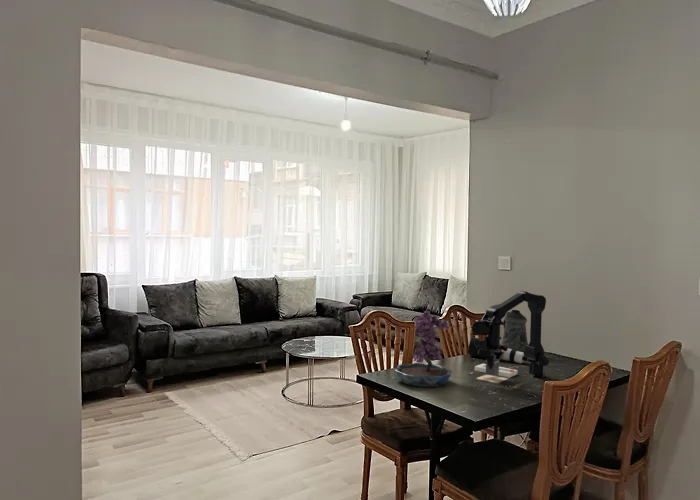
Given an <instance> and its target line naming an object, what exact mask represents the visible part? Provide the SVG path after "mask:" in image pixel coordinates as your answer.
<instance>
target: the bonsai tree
mask: <svg viewBox="0 0 700 500" xmlns="http://www.w3.org/2000/svg"><path fill="white" fill-rule="evenodd" d="M413 320H414V322H415V323H414V325H415V327H414V328H415V334H416V335H418V336H419V338H418V346H416V347H415V352H414V353H413V354H412V356H411V357H412V358H413V360H414V361H415V363H414V362H413V363H409V364H403V363H401V364H398V365H397V366H396V368H394V370H393V372H394V375H395V377H396V378H397V379H398V380H400V382H402V383H403V384H405V385H408V386H413V387H419V388H420V387H421V388H432V387H433V388H436V387H437V388H438V387H440V386H441V387H442V386H444V385H445V384H447V383H448V382H449V380H450V378H451V375H452V372H453V371H452V369H451V368H447V367H443V366H442V365H439V364H434V363H432V360H439V361H441V360H443V356H442V354H441V352H440V347H439V346H436V339H435V337H436V335H437V333H436V329H435V327H436V328H437V329H438V330H444V331H446V330H448V329H449V328H450V327H449V323H448V321H447V319H441V320H440V318H438V315H437V314H432V315H431V311H429V310H424V311H423V313H422V314H421V315H419V316H416V317H414V318H413V319H412V321H413ZM434 326H435V327H434ZM424 360H425V361H424ZM423 362H426V363H427V364H426V363H423Z"/></svg>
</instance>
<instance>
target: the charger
mask: <svg viewBox="0 0 700 500" xmlns="http://www.w3.org/2000/svg"><path fill="white" fill-rule="evenodd" d="M485 364H486V373H485V375H486V374H487V375H492V376H498V374H499V367H500V360H499V359H495V361H494V363H493V366H492V369H489V366H488V363H487V360H486V359H485Z"/></svg>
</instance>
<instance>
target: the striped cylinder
mask: <svg viewBox="0 0 700 500" xmlns="http://www.w3.org/2000/svg"><path fill="white" fill-rule="evenodd" d="M476 339H480V340H484V339H482V338H479V337H476V336H475V337H474V336H472V337H471V338H470V340H469V343H468V351H467V352H468V355H469V356H473V357H478V358H480V359H485V358H486V357H485V356H484V355H480V354H478V350H479V349H480V348H483V347H484V346H483V347H479V348H477V347H476V346H475V345H474V344H475V340H476ZM501 352H504V353H503V355H502V357H501V359H500V361H501V360H502V361H508V362H512V363H518V364H521V363H522V364H523V363H524V362H528V359H527V357H525V356H524V353H523V352H519V351H516V350H512V349H508V351H504V350H501Z"/></svg>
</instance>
